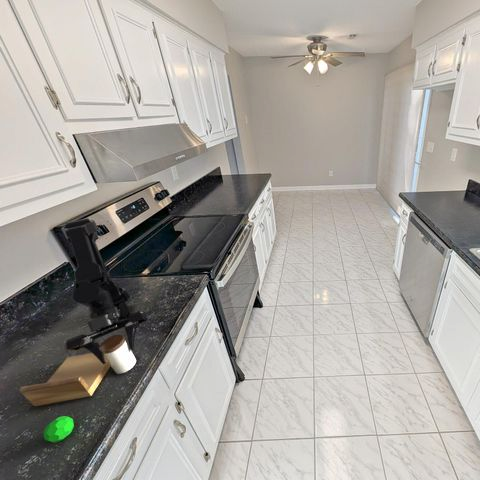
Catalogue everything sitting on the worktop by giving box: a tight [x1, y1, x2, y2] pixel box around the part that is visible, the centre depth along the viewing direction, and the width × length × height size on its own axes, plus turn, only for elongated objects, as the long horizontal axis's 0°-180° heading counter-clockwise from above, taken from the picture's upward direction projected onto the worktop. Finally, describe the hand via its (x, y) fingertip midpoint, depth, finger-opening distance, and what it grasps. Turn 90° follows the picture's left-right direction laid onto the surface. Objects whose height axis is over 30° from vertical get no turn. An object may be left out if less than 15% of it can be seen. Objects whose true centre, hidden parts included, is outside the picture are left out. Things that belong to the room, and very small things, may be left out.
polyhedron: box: [43, 415, 75, 443], centre depth 60 cm, size 5×5×5 cm
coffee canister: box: [99, 334, 137, 375], centre depth 75 cm, size 6×6×10 cm
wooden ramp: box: [18, 352, 111, 407], centre depth 73 cm, size 14×14×7 cm
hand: (118, 357), depth 74 cm, fingers open, 6 cm apart
